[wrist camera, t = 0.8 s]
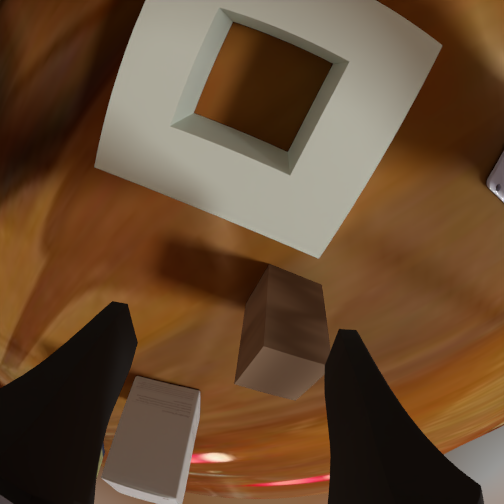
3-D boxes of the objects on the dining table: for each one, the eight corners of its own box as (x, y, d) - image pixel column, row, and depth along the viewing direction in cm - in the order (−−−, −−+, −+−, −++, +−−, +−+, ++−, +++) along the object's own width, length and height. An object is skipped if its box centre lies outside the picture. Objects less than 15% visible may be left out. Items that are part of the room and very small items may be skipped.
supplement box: (134, 373, 30) (98, 477, 19) (202, 389, 30) (178, 501, 19) (142, 404, 34) (115, 492, 23) (200, 418, 34) (182, 510, 23)
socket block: (408, 48, 12) (442, 45, 9) (312, 221, 19) (318, 258, 15) (201, -41, 10) (180, -67, 7) (127, 145, 17) (94, 167, 13)
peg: (321, 284, 21) (332, 366, 15) (294, 321, 23) (295, 400, 18) (269, 263, 21) (263, 346, 15) (245, 303, 23) (234, 383, 17)
